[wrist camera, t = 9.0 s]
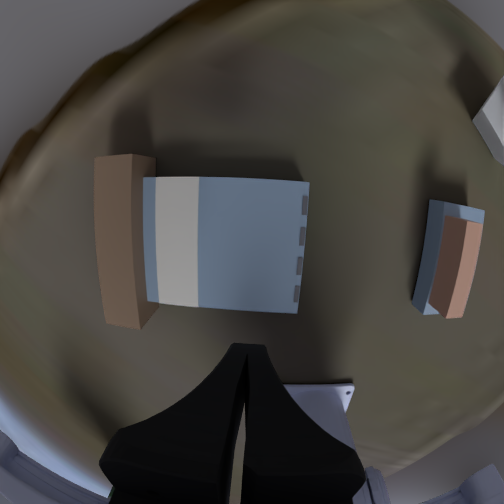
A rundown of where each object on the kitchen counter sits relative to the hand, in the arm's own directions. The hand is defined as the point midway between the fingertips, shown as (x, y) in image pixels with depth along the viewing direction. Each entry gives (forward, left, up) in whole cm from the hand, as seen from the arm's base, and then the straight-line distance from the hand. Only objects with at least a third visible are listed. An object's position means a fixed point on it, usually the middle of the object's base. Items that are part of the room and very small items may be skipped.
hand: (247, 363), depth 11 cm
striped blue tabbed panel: (+3, +4, -10) cm, 11 cm away
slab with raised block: (+3, -16, -10) cm, 19 cm away
